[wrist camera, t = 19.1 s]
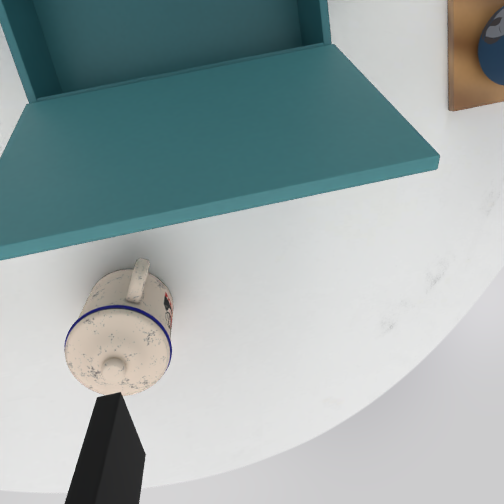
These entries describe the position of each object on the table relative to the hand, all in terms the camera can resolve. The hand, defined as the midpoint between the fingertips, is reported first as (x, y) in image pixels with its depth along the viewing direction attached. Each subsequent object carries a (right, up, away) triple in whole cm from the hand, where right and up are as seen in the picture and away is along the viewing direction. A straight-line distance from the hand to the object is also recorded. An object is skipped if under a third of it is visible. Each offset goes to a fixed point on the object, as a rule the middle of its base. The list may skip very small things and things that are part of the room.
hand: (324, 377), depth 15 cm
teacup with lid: (-15, 0, +32) cm, 35 cm away
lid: (-6, +11, +11) cm, 17 cm away
